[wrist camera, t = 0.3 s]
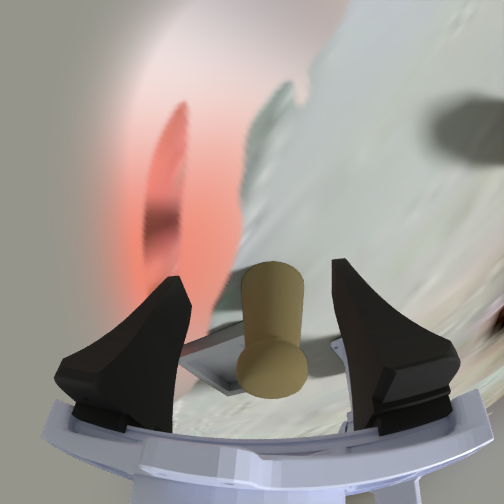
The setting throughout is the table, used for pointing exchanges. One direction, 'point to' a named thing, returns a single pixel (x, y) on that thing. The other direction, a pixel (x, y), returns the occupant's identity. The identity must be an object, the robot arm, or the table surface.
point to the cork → (272, 331)
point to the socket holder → (216, 358)
